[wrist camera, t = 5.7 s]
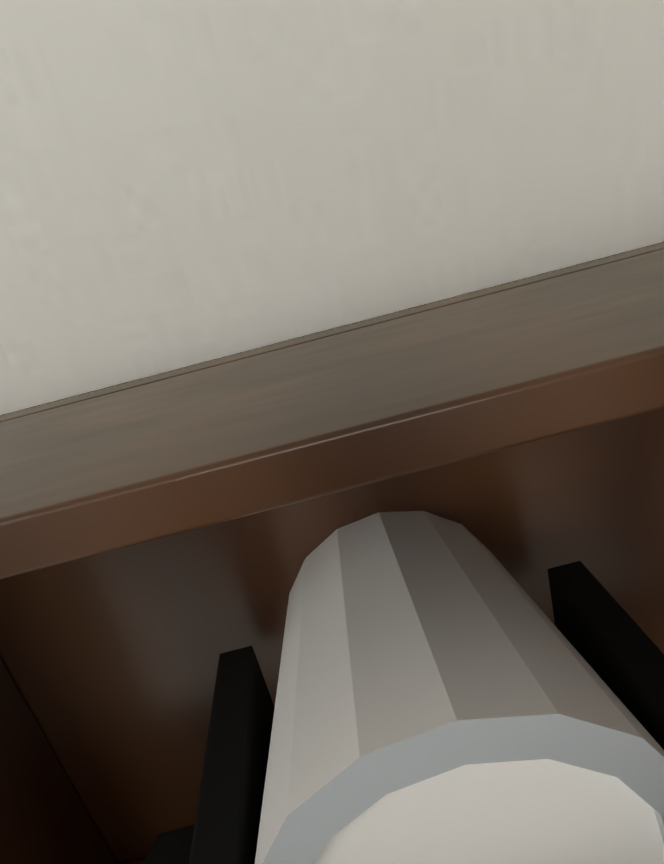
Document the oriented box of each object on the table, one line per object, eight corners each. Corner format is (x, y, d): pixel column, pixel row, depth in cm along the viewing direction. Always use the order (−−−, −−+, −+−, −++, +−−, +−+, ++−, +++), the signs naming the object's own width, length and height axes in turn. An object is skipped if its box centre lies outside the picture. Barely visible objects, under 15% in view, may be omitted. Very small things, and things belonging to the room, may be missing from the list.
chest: (110, 859, 18) (17, 1199, 12) (-125, 447, 13) (-504, 650, 7) (768, 690, 18) (1034, 941, 12) (783, 210, 13) (1259, 191, 7)
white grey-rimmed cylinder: (244, 697, 15) (217, 1043, 9) (289, 466, 13) (297, 696, 7) (482, 720, 16) (616, 1046, 10) (559, 508, 14) (795, 744, 8)
